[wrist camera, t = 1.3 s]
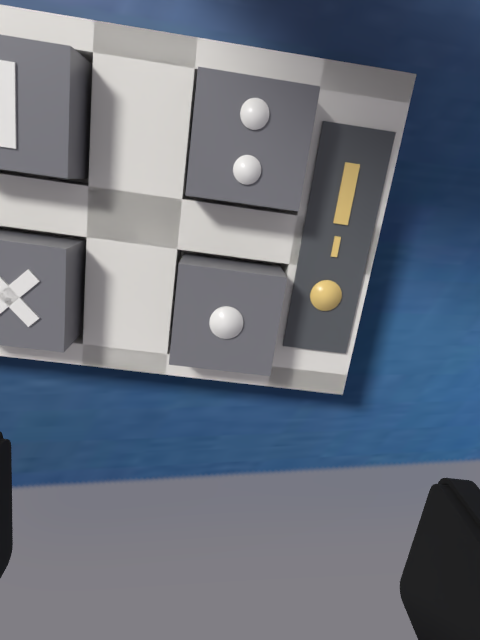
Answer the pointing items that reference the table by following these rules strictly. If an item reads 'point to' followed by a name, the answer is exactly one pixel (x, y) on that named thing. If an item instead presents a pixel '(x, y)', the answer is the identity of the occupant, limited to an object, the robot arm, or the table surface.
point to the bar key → (44, 108)
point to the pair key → (250, 139)
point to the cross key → (41, 290)
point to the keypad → (208, 214)
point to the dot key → (226, 314)
